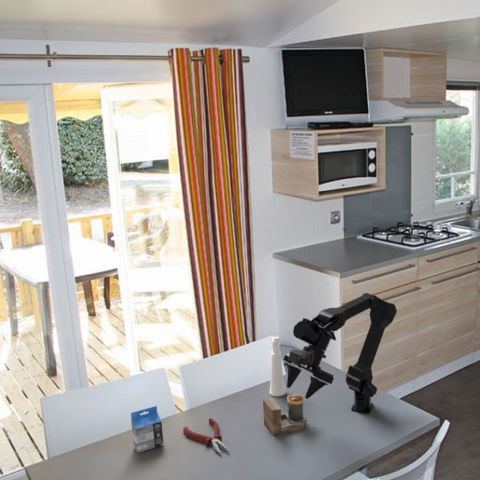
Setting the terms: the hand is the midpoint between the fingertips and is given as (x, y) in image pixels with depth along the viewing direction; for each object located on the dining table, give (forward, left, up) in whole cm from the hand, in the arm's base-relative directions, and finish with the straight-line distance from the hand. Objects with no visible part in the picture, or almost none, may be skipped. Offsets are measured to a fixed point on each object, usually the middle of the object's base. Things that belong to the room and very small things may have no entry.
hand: (297, 393), depth 184 cm
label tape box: (+23, -42, -15) cm, 50 cm away
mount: (-3, -7, -15) cm, 17 cm away
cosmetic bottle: (-25, -17, -15) cm, 34 cm away
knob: (-7, -3, -14) cm, 16 cm away
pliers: (+13, -27, -16) cm, 34 cm away
